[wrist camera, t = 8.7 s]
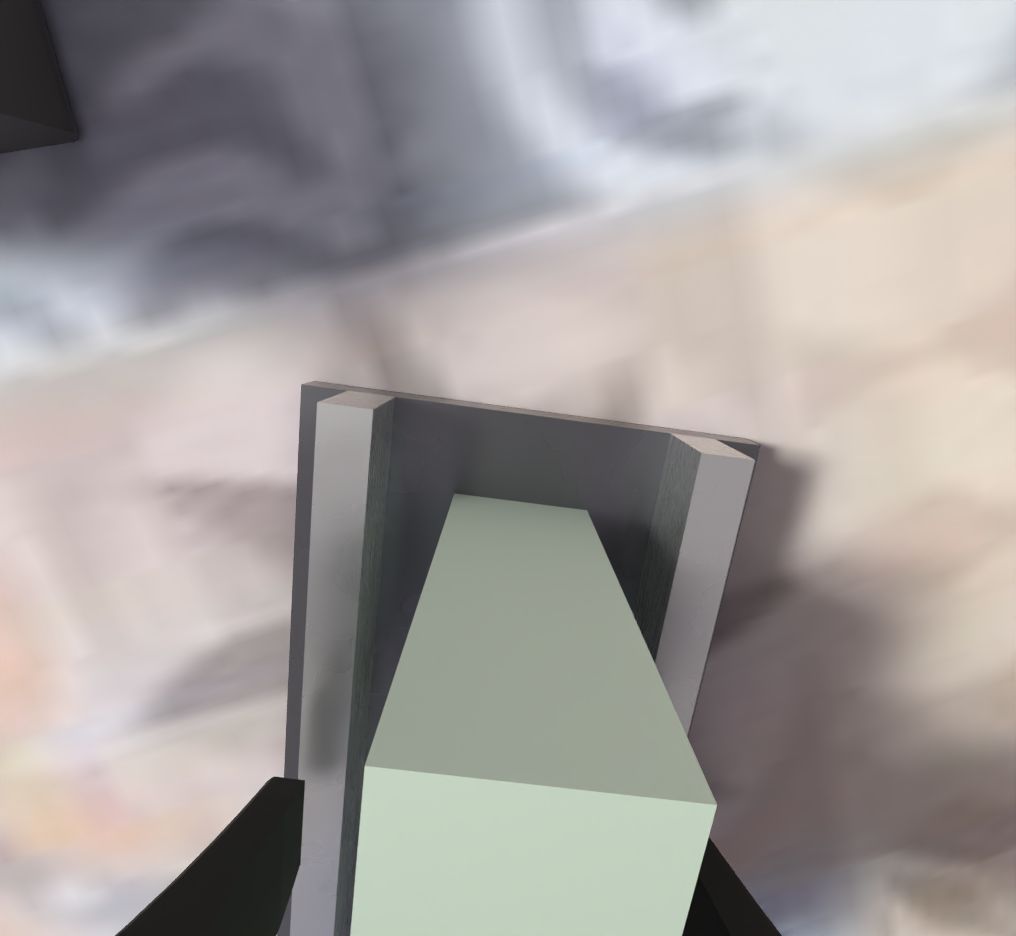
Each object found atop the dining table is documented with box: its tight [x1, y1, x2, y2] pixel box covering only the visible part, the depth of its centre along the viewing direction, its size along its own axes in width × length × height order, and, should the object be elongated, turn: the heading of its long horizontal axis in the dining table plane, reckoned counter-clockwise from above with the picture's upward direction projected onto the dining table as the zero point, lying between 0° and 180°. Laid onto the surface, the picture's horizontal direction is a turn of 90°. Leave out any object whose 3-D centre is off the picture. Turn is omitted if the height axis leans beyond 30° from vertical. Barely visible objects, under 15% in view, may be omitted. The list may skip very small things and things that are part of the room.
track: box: [277, 381, 760, 936], centre depth 13 cm, size 10×16×3 cm, turn 172°
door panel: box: [350, 493, 717, 936], centre depth 10 cm, size 12×3×8 cm, turn 172°
